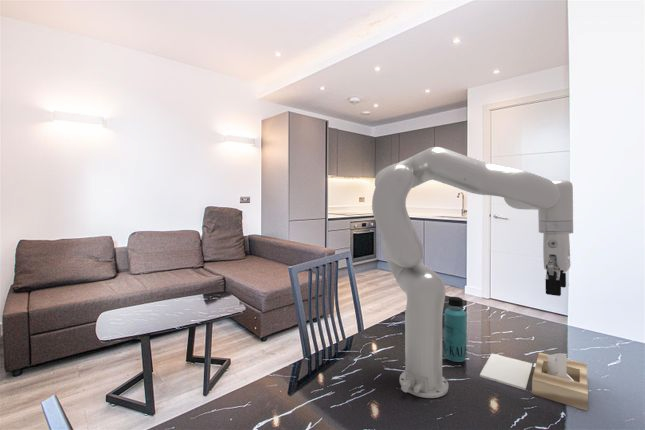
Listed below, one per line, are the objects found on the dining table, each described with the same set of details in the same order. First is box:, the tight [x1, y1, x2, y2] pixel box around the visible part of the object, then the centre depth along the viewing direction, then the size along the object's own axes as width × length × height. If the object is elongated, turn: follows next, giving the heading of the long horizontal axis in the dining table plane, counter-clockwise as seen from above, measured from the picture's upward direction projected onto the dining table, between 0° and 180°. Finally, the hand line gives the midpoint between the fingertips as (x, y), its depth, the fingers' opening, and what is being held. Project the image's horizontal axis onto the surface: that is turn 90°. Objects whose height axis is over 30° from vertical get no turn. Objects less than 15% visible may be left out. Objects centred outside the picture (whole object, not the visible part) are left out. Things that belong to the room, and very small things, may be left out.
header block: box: [531, 352, 589, 412], centre depth 86 cm, size 18×11×4 cm, turn 142°
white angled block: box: [548, 352, 574, 381], centre depth 86 cm, size 4×10×9 cm, turn 168°
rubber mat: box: [479, 353, 533, 391], centre depth 94 cm, size 16×11×1 cm
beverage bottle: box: [443, 296, 467, 363], centre depth 99 cm, size 6×7×20 cm
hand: (556, 290), depth 87 cm, fingers open, 9 cm apart
